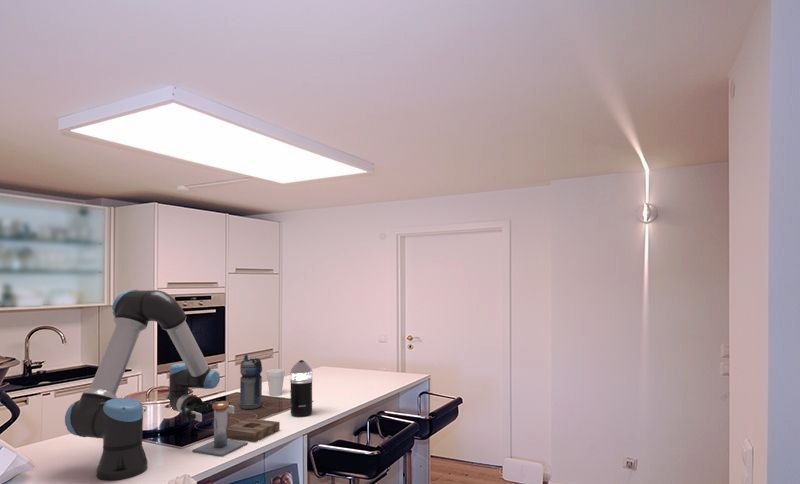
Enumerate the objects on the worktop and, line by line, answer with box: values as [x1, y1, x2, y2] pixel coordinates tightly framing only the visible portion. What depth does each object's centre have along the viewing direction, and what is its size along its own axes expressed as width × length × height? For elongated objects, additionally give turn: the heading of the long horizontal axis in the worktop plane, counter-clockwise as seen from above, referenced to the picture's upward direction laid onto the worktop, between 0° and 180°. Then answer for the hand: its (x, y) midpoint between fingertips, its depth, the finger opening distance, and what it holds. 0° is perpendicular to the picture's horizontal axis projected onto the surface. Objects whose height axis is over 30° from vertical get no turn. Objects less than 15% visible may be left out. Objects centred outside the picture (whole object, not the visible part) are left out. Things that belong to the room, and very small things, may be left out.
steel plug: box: [212, 400, 230, 448], centre depth 195 cm, size 6×6×16 cm
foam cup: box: [266, 368, 285, 397], centre depth 279 cm, size 10×9×13 cm
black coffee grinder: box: [289, 359, 313, 418], centre depth 240 cm, size 10×10×25 cm
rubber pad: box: [192, 438, 249, 458], centre depth 195 cm, size 14×14×1 cm
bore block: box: [227, 417, 281, 443], centre depth 211 cm, size 16×16×4 cm
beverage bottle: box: [239, 354, 263, 410], centre depth 254 cm, size 10×13×25 cm
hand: (217, 413), depth 198 cm, fingers open, 13 cm apart
